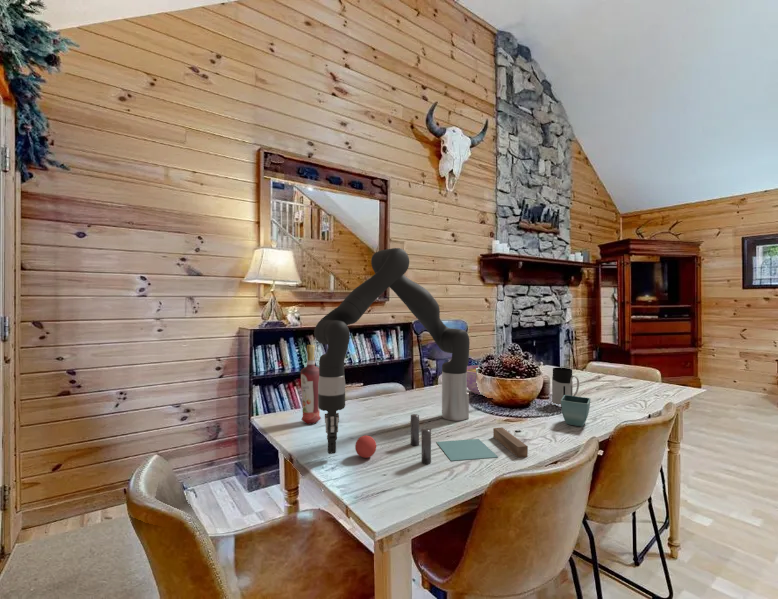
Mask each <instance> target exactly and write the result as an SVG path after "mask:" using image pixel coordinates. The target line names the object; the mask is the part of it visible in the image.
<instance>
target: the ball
mask: <svg viewBox="0 0 778 599" xmlns="http://www.w3.org/2000/svg"><path fill="white" fill-rule="evenodd" d="M354 446H355V448H354V449H355V452H356V453H357V455H358V456H359V457H361V458H362V459H363V458H364V459H368V458H371V457H372V456H373V455H374V454H375V453H376V450H377V442H376V440H375V439H374V438H373V437H372V436H371V435H361V436H360V437H359V438H358V439H357V440H356V442H355V445H354Z"/></svg>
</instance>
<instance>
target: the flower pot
mask: <svg viewBox="0 0 778 599" xmlns="http://www.w3.org/2000/svg"><path fill="white" fill-rule="evenodd" d="M561 407H562V408H561ZM561 407H560V408H561V414H562V418H563V420H564V422H565V423H566V424H567V425H571V426H575V427H584V425H585V424H586V421H587V418H588V416H589V412H590V408H591V398H590V397H583V396H577V395H576V396H570V395H564V396H563V398H562V399H561Z"/></svg>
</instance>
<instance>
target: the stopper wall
mask: <svg viewBox="0 0 778 599" xmlns="http://www.w3.org/2000/svg"><path fill="white" fill-rule="evenodd" d="M492 433H493V434H492V435H493V436H492V437H493V439H495V440H496V441H497V442H498V443H500V444H501V445H502V446H504V447H505V448H506V449H507V450H508V451H509V452H511V454H513V455H515V457H517V458H528V450H529V449H528V448H529V446H528V445H526V443H524V442H523V441H522V440H520V439H518V438H517V437H516V436H515V435H513V434H512V433H510V432H509V431H508V430H507V429H505V428H504V427H493V432H492Z"/></svg>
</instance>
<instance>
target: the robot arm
mask: <svg viewBox="0 0 778 599" xmlns="http://www.w3.org/2000/svg"><path fill="white" fill-rule="evenodd" d="M370 262H371V267H372V270H373V272H374V274H373V275H372V276H371V277H369V278H368V279H367V280H365V281H364V282H362V283H360V284H359V285H358V286H357V287H356V288H354V289H353V290H352V291H351V292H350V293H349V294H348V295H347V296H346V297H345V298H344V299H343V300H342V302H341V303H340V304H339V305H338V306H337V307H335V308H334V309H333V310H331V311H330V312H328V313H327V314H326V315H325V316H322V318H321V319H320V320H319V321H318V322H317V323H316V325H315V328H314V330H313V331H314V332H313V335H314V339H315V340H316V341H317V342H318V343H320V344H322V345H325V346H326V345H327V350H326V353H323V354H322V355H320V357H319V362H318V368H319V382H318V408H319V409H320V410H321V411H324V412H327V413H324V423H325V433H326V440H327V453H328V454H329V455H331V454H332V455H334V454H336V453H337V439H338V433H339V422H340V415H339V412H338V411H342V410H344V409H345V407H346V379H345V359H346V355H347V351H348V348H349V344H350V338H351V336H350V335H351V334H350V329H349V327H348V326H349V325H353V324H355V323H357V322H358V321H360V319H361V318H362V317H363V316H364V314H365V313H366V312H367V311H368V309H369V308H370V306H371V305H372V304H373V303H374V302H375V301H377V299H378V298H379V297H380V296H382V294H383V293H385V291H386V290H388V289H389V288H390V290H392V291H393V292H394V294H396V295H397V297H398V298H399V299H400V301H402V303H403V304H404V305H405V306H406V308H407V309H408V310H409V312H410V313H411V314H413V316H414V317H415V318H416V319H417V320H418V321H419V323H420V324H421V325H422V326H423V328H424V329H426V331H427V332H428V333H429V335H430V337H431V338H432V340H433V341H434V342H435V344H436V346H437V347H438V348H439V349H440V351H442V352H444V353H447V354H451V359H450V360H449V361H446V362H444V363H442V366H441V417H442V418H443V419H445V420H447V421H456V422H458V421H465V420H468V419H469V418H470V415H469V414H470V412H469V411H470V409H469V408H470V407H469V406H470V398H469V397H470V396H469V395H470V394H469V392H468V390H467V389H468V388H467V366H469V360H470V337H469V334H468V332H467V331H466V330H464V329H459V328H450V327H448V326H446V324H445V323H444V322H443V321H442V319H441V317H440V316H441V314H440V305H439V303H438V302H437V300H436V299H435V298H434V296H433V295H432V294H431V293H430V291H429V290H428V289H426V288H425V287H424V286H422V285H420V284H419V283H417V282H415V281H413V280H412V279H410V278H408V277H407V276H406V275H405V274H406V272H407V271H408V269H409V266H410V257H409V255H408V253H407V252H406V250H405V249H403V248H399V247H393V248H387V249H386V248H385V249H380V250H378V251H376V252H375V253H373V254H372V256H371V261H370Z"/></svg>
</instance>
